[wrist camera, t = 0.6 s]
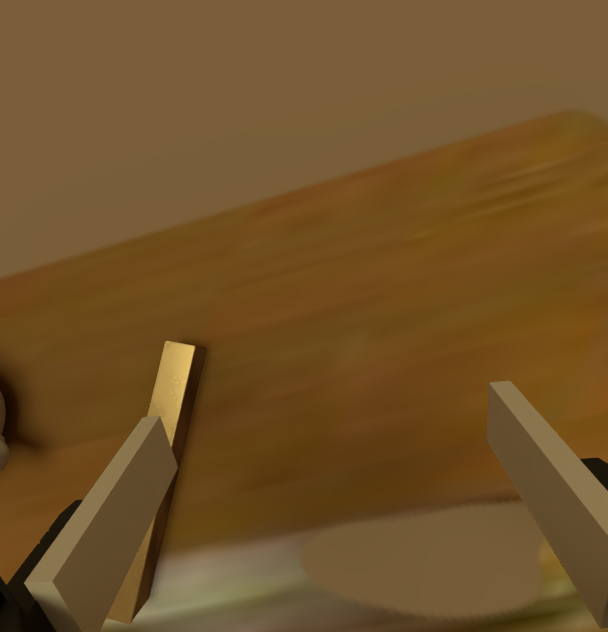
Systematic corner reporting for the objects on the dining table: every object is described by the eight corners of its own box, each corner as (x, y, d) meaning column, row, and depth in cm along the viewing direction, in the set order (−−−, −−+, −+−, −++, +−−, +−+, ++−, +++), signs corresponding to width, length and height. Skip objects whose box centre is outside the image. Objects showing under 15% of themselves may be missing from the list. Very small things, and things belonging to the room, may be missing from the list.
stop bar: (149, 598, 32) (130, 624, 29) (120, 591, 32) (98, 616, 29) (206, 348, 35) (195, 346, 32) (180, 342, 35) (165, 340, 32)
